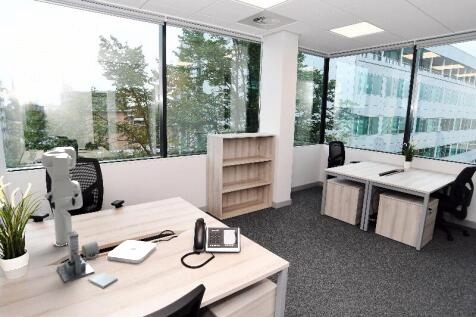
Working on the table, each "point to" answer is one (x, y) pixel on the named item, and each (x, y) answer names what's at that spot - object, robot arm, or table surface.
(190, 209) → the table surface
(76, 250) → the column
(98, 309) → the table surface
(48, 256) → the table surface
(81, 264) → the stand
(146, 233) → the table surface
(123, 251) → the computer
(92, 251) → the ceramic mug
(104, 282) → the hard drive
